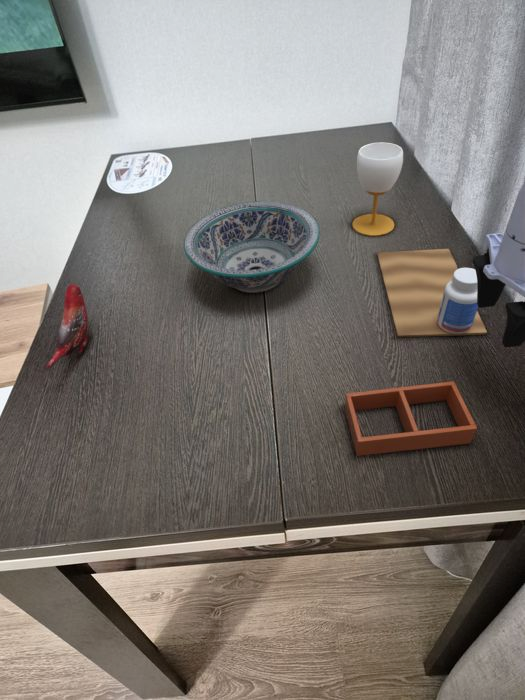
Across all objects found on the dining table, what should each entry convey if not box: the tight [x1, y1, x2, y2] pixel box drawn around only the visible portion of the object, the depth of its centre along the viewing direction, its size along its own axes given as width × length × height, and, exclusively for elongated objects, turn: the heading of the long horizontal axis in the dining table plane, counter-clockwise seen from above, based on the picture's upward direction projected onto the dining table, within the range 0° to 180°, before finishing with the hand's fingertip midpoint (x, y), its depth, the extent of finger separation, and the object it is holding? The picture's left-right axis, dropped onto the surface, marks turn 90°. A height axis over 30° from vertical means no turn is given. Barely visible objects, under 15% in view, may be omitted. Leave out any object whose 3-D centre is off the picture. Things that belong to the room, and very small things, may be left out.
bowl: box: [183, 200, 321, 294], centre depth 84 cm, size 25×25×10 cm
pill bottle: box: [437, 267, 479, 334], centre depth 69 cm, size 6×5×10 cm
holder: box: [344, 380, 478, 457], centre depth 59 cm, size 15×8×4 cm, turn 94°
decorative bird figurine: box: [45, 283, 90, 371], centre depth 72 cm, size 3×18×10 cm, turn 178°
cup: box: [352, 141, 404, 237], centre depth 90 cm, size 9×9×16 cm
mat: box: [376, 248, 488, 339], centre depth 79 cm, size 24×14×1 cm, turn 178°
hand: (497, 324), depth 57 cm, fingers open, 7 cm apart
